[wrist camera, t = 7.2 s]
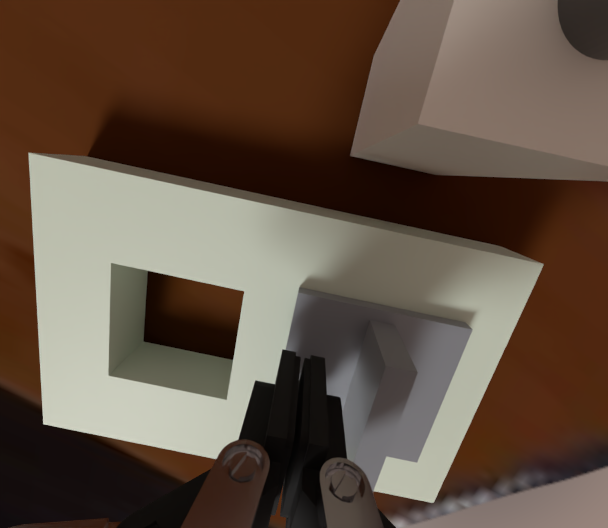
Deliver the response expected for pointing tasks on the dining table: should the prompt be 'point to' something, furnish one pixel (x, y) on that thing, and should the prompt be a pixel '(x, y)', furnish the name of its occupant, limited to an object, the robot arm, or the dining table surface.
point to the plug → (490, 90)
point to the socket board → (255, 308)
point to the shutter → (379, 370)
